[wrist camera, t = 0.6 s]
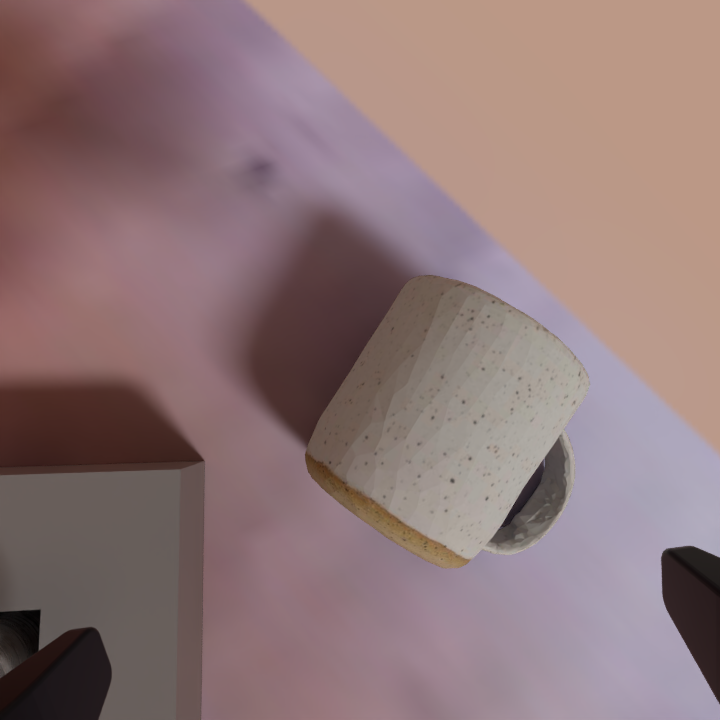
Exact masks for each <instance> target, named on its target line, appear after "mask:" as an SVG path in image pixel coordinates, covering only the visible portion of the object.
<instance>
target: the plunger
mask: <svg viewBox="0 0 720 720" xmlns="http://www.w3.org/2000/svg"><path fill="white" fill-rule="evenodd" d="M39 634H40V620H39V619H38V618H37V617H36V616H35V615H33V614H32V613H30V612H28V611H25V610H22V611H5V612H0V678H1V677H2V676H4V675H5V674H7V673H8V672H9V671H11V670H12V669H14V668H15V667H17V666H18V665H19V664H21V663H22V662H24V661H25V660H26V659H28V658H29V657H31V656H32V655H34V654H35V653H36V652H38V651H39Z"/></svg>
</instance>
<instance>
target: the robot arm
mask: <svg viewBox="0 0 720 720" xmlns="http://www.w3.org/2000/svg"><path fill="white" fill-rule="evenodd" d="M661 565H662V594H663V600H664V604H665V606H666V609H667V611H668V613H669V615H670V617H671V619H672V620H673V622H674V624H675V626H676V627H677V629H678V631H679V633H680V635H681V636H682V638H683V640H684V642H685V643H686V645H687V647H688V649H689V651H690V652H691V654H692V656H693V658H694V659H695V661H696V663H697V665H698V667H699V668H700V670H701V672H702V674H703V675H704V677H705V679H706V681H707V683H708V684H709V686H710V688H711V690H712V692H713V693H714V695H715V697H716V699H717V700H718V702H719V704H720V558H719V557H717V556H715V555H713V554H710V553H708V552H706V551H703V550H701V549H699V548H696V547H694V546H683V547H675V548H668V549H666V550H664V551H663V553H662V557H661ZM111 679H112V667H111V663H110V661H109V658H108V655H107V652H106V649H105V647H104V644H103V641H102V638H101V635H100V633H99V631H98V630H97V629H96V628H94V627H84V628H77V629H71V630H68V631H66V632H65V633H63V634H62V635H60V636H59V637H58V638H56V639H55V640H53V641H52V642H51V643H49V644H48V645H46V646H45V647H43V648H42V649H41V650H39V651H38V652H36V653H35V654H34V655H32V656H31V657H29V658H28V659H26V660H25V661H24V662H22V663H21V664H19V665H18V666H17V667H15V668H14V669H12V670H11V671H9V672H8V673H7V674H5V675H4V676H2V677H1V678H0V720H99V717H100V714H101V711H102V708H103V705H104V702H105V699H106V696H107V693H108V690H109V687H110V684H111Z"/></svg>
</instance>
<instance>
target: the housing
mask: <svg viewBox="0 0 720 720" xmlns="http://www.w3.org/2000/svg"><path fill="white" fill-rule="evenodd" d="M204 472H205V461H187V462H155V463H123V464H91V465H59V466H27V467H0V612H5V611H22V610H25V611H28V612H30V613H32V614H33V615H35V616H36V617H37V618H38V619H39V620H40V634H39V650H41V649H42V648H43V647H45V646H46V645H48V644H49V643H51V642H52V641H53V640H55V639H56V638H58V637H59V636H60V635H62V634H63V633H65V632H66V631H68V630H71V629H77V628H84V627H94V628H96V629H97V630H98V631H99V633H100V635H101V638H102V641H103V644H104V647H105V649H106V652H107V655H108V658H109V661H110V663H111V667H112V679H111V684H110V687H109V690H108V693H107V696H106V699H105V702H104V705H103V708H102V711H101V714H100V717H99V720H201V689H202V617H203V544H204Z"/></svg>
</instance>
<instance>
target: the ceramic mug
mask: <svg viewBox="0 0 720 720" xmlns="http://www.w3.org/2000/svg"><path fill="white" fill-rule="evenodd" d="M589 386H590V382H589V377H588V374H587V372H586V370H585V369H584V367H583V365H582V364H581V362H580V361H579V360H578V359H577V358H576V356H575V355H574V354H573V353H572V351H571V350H570V349H569V348H568V347H567V346H566V345H565V344H564V343H563V342H562V341H561V340H560V339H559V338H558V337H556V336H555V335H554V334H552V333H551V332H549V331H548V330H547V329H546V328H545V327H544V326H542V325H541V324H540V323H538V322H537V321H536V320H534V319H533V318H531V317H530V316H528V315H526V314H525V313H523V312H521V311H520V310H518V309H516V308H514V307H513V306H511V305H509V304H507V303H506V302H504V301H502V300H501V299H499V298H497V297H496V296H494V295H492V294H490V293H488V292H486V291H484V290H482V289H480V288H478V287H475V286H473V285H470V284H467V283H464V282H461V281H458V280H453V279H448V278H443V277H439V276H433V275H426V276H418V277H415V278H412V279H411V280H409V281H408V282H407V283H406V284H405V285H404V287H403V288H402V290H401V291H400V293H399V294H398V296H397V297H396V299H395V301H394V302H393V304H392V306H391V308H390V309H389V311H388V312H387V314H386V315H385V317H384V318H383V320H382V321H381V323H380V324H379V326H378V328H377V329H376V331H375V332H374V334H373V335H372V337H371V338H370V340H369V342H368V343H367V345H366V346H365V348H364V349H363V351H362V352H361V354H360V356H359V357H358V359H357V361H356V363H355V364H354V366H353V368H352V369H351V371H350V372H349V374H348V375H347V377H346V378H345V380H344V381H343V383H342V385H341V386H340V388H339V389H338V391H337V392H336V394H335V395H334V397H333V398H332V400H331V402H330V403H329V405H328V406H327V408H326V409H325V411H324V412H323V414H322V415H321V417H320V418H319V421H318V423H317V425H316V428H315V430H314V432H313V434H312V437H311V439H310V441H309V444H308V446H307V450H306V453H305V459H306V465H307V469H308V472H309V474H310V475H311V477H312V478H313V479H314V480H315V481H316V482H317V483H318V484H319V485H320V486H321V488H322V489H324V490H325V491H326V492H327V493H328V494H330V495H331V496H332V497H333V498H334V499H336V500H337V501H338V502H339V503H340V504H342V505H343V506H344V507H345V508H347V509H348V510H349V511H350V512H352V513H353V514H354V515H356V516H357V517H359V518H360V519H361V520H363V521H364V522H366V523H367V524H369V525H370V526H372V527H373V528H374V529H376V530H377V531H378V532H380V533H381V534H383V535H384V536H385V537H387V538H388V539H390V540H391V541H393V542H395V543H396V544H398V545H400V546H401V547H403V548H405V549H406V550H408V551H410V552H411V553H413V554H415V555H417V556H419V557H420V558H422V559H424V560H426V561H428V562H430V563H432V564H435V565H437V566H439V567H442V568H459V567H462V566H464V565H466V564H467V563H468V562H469V561H470V560H471V559H473V558H474V557H475V556H476V555H477V554H478V553H479V552H480V551H481V550H484V551H488V552H490V553H493V554H503V555H511V554H515V553H518V552H521V551H523V550H526V549H527V548H529V547H531V546H532V545H534V544H536V543H537V542H538V541H539V540H540V539H541V538H543V537H544V536H545V535H546V534H547V533H548V531H549V530H550V529H551V528H552V527H553V526H554V524H555V523H556V522H557V520H558V519H559V517H560V516H561V514H562V513H563V511H564V509H565V507H566V505H567V503H568V500H569V498H570V495H571V492H572V488H573V484H574V479H575V460H574V453H573V449H572V446H571V443H570V440H569V437H568V435H567V433H566V432H565V430H564V428H565V427H566V425H567V424H568V422H569V421H570V419H571V417H572V416H573V414H574V413H575V411H576V410H577V408H578V407H579V406H580V404H581V403H582V401H583V400H584V398H585V396H586V394H587V391H588V389H589ZM544 458H545V468H544V472H543V474H542V479H541V482H540V483H539V485H538V487H537V489H536V490H535V492H534V493H533V495H532V496H531V497H530V499H529V500H528V501H527V503H526V504H525V505H524V507H523V508H522V510H521V511H520V512H519V513H518V514H517V515H515V516H514V518H513V520H512V521H511V523H510V524H509V525H507V526H505V527H503V528H501V529H499V528H500V526H501V525H502V523H503V522H504V520H505V518H506V517H507V515H508V513H509V511H510V510H511V508H512V506H513V505H514V503H515V501H516V500H517V498H518V496H519V494H520V493H521V491H522V489H523V488H524V486H525V485H526V483H527V482H528V481H529V479H530V478H531V476H532V475H533V473H534V472H535V471H536V469H537V468H538V466H539V465H540V463H541V462H542V461H543V459H544Z"/></svg>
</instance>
